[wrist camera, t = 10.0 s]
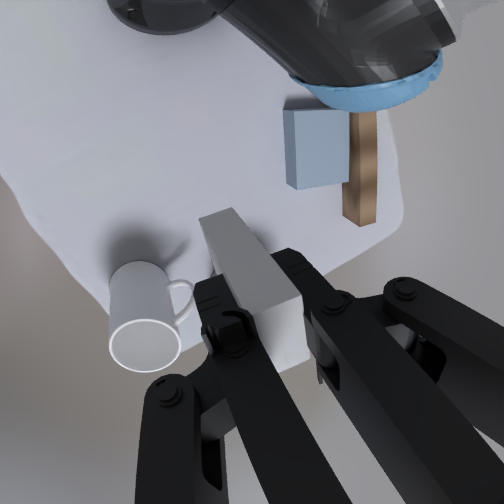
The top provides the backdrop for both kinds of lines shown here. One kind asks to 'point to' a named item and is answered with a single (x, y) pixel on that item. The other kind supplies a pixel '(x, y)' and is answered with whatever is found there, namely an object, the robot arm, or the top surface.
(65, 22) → the top surface
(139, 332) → the mug
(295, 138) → the block
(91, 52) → the top surface
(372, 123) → the brown wooden bar
